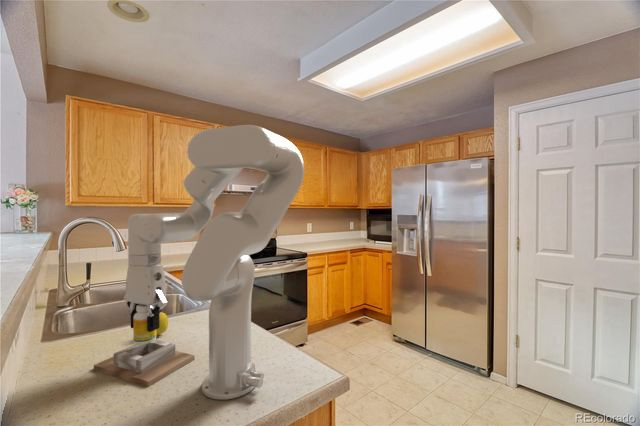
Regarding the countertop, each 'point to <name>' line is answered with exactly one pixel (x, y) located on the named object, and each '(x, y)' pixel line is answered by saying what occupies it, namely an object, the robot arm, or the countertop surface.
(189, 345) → the countertop surface
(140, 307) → the supplement bottle
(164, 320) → the lemon
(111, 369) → the dock board
